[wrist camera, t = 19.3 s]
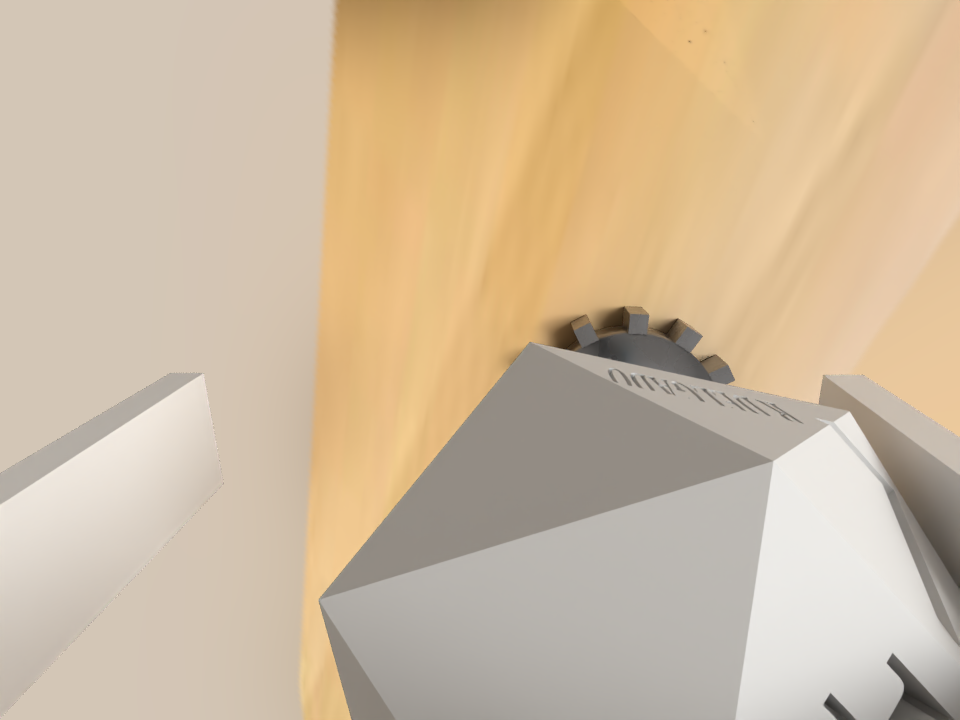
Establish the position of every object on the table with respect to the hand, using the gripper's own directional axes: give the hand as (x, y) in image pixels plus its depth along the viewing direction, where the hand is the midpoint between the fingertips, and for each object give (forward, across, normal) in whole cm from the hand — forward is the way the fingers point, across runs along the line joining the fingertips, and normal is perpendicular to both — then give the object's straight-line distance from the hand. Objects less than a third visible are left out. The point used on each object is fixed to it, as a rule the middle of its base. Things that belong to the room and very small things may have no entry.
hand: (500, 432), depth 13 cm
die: (+1, +3, -2) cm, 3 cm away
